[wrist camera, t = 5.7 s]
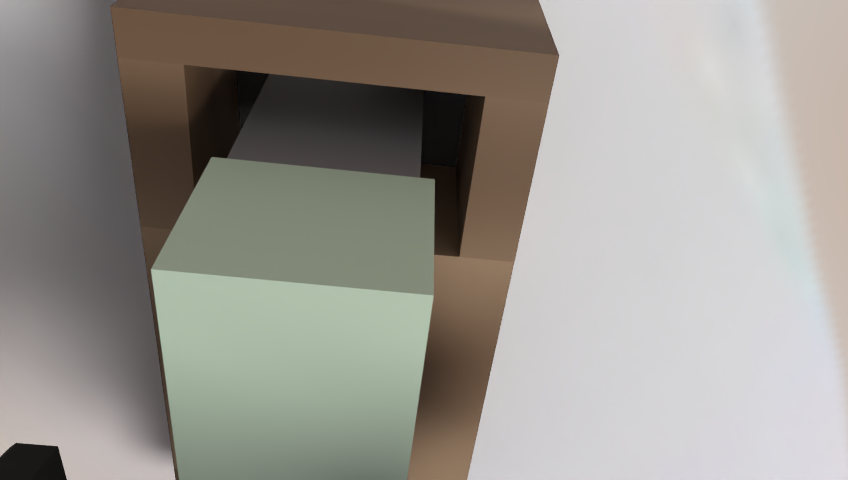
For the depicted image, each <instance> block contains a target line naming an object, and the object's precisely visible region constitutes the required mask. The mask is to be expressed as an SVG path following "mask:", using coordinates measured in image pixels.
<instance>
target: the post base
mask: <svg viewBox="0 0 848 480" xmlns="http://www.w3.org/2000/svg"><path fill="white" fill-rule="evenodd" d="M110 8H111V15H112V23H113V30H114V37H115V44H116V52H117V59H118V66H119V73H120V81H121V88H122V95H123V102H124V109H125V117H126V124H127V131H128V138H129V146H130V153H131V160H132V167H133V175H134V182H135V189H136V196H137V204H138V211H139V218H140V225H141V232H142V240H143V247H144V254H145V261H146V269H147V276H148V283H149V290H150V298H151V305H152V312H153V319H154V327H155V334H156V341H157V348H158V355H159V363H160V370H161V377H162V384H163V392H164V399H165V406H166V413H167V421H168V428H169V435H170V442H171V450H172V457H173V464H174V471H175V478H176V480H179V475H178V468H177V460H176V453H175V445H174V438H173V430H172V423H171V415H170V408H169V400H168V393H167V385H166V378H165V371H164V363H163V356H162V348H161V341H160V333H159V326H158V318H157V311H156V303H155V296H154V288H153V281H152V273H151V268H152V266H153V265H154V263H155V261H156V259H157V257H158V255H159V253H160V252H161V250H162V248H163V246H164V244H165V242H166V240H167V239H168V237H169V235H170V233H171V231H172V229H173V228H174V226H175V224H176V222H177V220H178V218H179V216H180V215H181V213H182V211H183V209H184V207H185V205H186V203H187V202H188V200H189V198H190V196H191V194H192V192H193V190H194V189H195V187H196V185H197V183H198V181H199V179H200V178H201V176H202V174H203V172H204V170H205V168H206V166H207V165H208V163H209V161H210V159H211V157H217V158H227V157H228V155H229V153H230V151H231V149H232V147H233V145H234V143H235V141H236V139H237V137H238V135H239V110H238V87H237V70H239V71H249V72H258V73H268V74H277V75H287V76H296V77H306V78H315V79H325V80H334V81H344V82H353V83H362V84H372V85H381V86H391V87H400V88H410V89H419V90H429V91H438V92H448V93H457V94H467V95H466V101H465V108H464V115H463V122H462V128H461V135H460V142H459V149H458V156H457V162H456V167H449V166H439V165H429V164H421V170H420V178H427V179H435V214H434V297H433V304H432V311H431V318H430V325H429V332H428V338H427V345H426V352H425V359H424V366H423V373H422V380H421V387H420V394H419V401H418V408H417V415H416V422H415V429H414V435H413V442H412V449H411V456H410V463H409V470H408V477H407V480H467V477H468V472H469V468H470V463H471V459H472V454H473V449H474V445H475V440H476V436H477V431H478V426H479V422H480V417H481V413H482V408H483V403H484V399H485V394H486V390H487V385H488V380H489V376H490V371H491V367H492V362H493V357H494V353H495V348H496V344H497V339H498V334H499V330H500V325H501V321H502V316H503V311H504V307H505V302H506V298H507V293H508V288H509V284H510V279H511V275H512V270H513V265H514V261H515V256H516V252H517V247H518V242H519V238H520V233H521V229H522V224H523V219H524V215H525V210H526V206H527V201H528V196H529V192H530V187H531V183H532V178H533V173H534V169H535V164H536V160H537V155H538V150H539V146H540V141H541V137H542V132H543V127H544V123H545V118H546V114H547V109H548V104H549V100H550V95H551V91H552V86H553V81H554V77H555V72H556V68H557V63H558V58H559V54H558V51H557V48H556V46H555V43H554V40H553V38H552V35H551V32H550V30H549V27H548V24H547V22H546V19H545V16H544V14H543V11H542V8H541V6H540V3H539V0H118V1H117V2H115V3H114V4H113V5H112V6H111V7H110Z"/></svg>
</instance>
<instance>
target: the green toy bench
mask: <svg viewBox="0 0 848 480" xmlns="http://www.w3.org/2000/svg"><path fill="white" fill-rule="evenodd" d="M423 100H424V90H419V89H410V88H400V87H391V86H381V85H372V84H362V83H353V82H344V81H334V80H325V79H315V78H306V77H296V76H287V75H277V74H269V75H268V77H267V79H266V81H265V83H264V85H263V87H262V89H261V91H260V93H259V95H258V97H257V99H256V101H255V103H254V105H253V107H252V109H251V111H250V113H249V115H248V117H247V119H246V121H245V123H244V125H243V127H242V129H241V131H240V133H239V135H238V137H237V139H236V141H235V143H234V145H233V147H232V149H231V151H230V153H229V155H228V157H227V158H217V157H211V159H210V161H209V163H208V165H207V166H206V168H205V170H204V172H203V174H202V176H201V178H200V179H199V181H198V183H197V185H196V187H195V189H194V190H193V192H192V194H191V196H190V198H189V200H188V202H187V203H186V205H185V207H184V209H183V211H182V213H181V215H180V216H179V218H178V220H177V222H176V224H175V226H174V228H173V229H172V231H171V233H170V235H169V237H168V239H167V240H166V242H165V244H164V246H163V248H162V250H161V252H160V253H159V255H158V257H157V259H156V261H155V263H154V265H153V266H152V268H151V273H152V281H153V288H154V296H155V303H156V311H157V318H158V326H159V333H160V341H161V348H162V356H163V363H164V371H165V378H166V385H167V393H168V400H169V408H170V415H171V423H172V430H173V438H174V445H175V453H176V460H177V468H178V475H179V480H407V477H408V470H409V463H410V456H411V449H412V442H413V435H414V429H415V422H416V415H417V408H418V401H419V394H420V387H421V380H422V373H423V366H424V359H425V352H426V345H427V338H428V332H429V325H430V318H431V311H432V304H433V297H434V214H435V179H427V178H420V170H421V147H422V123H423Z"/></svg>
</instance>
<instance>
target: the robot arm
mask: <svg viewBox="0 0 848 480" xmlns="http://www.w3.org/2000/svg"><path fill="white" fill-rule="evenodd" d="M0 480H67V479H66V475H65V471H64V468H63V464H62V460H61V456H60V453H59V449H58V446H46V445H34V444H22V443H15V444H14V445H13V446H11V447H10V448H9V449H8V450H7V451H6V452H5V453H4V454H3V455H2V456H1V457H0Z"/></svg>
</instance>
